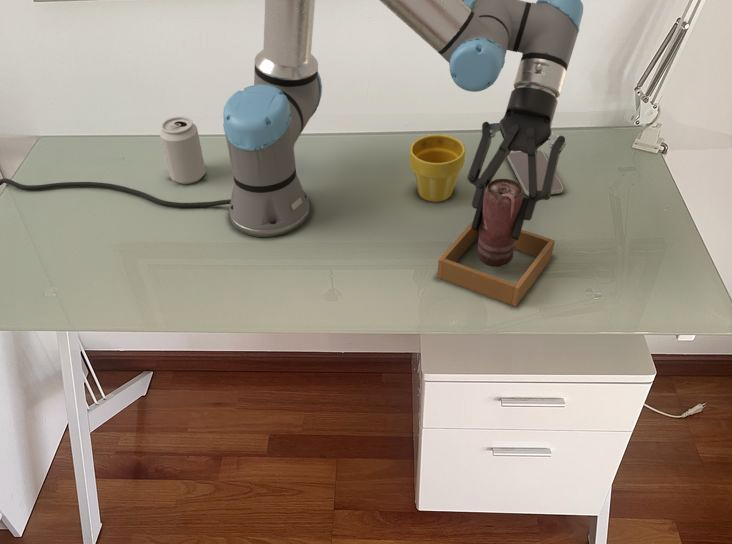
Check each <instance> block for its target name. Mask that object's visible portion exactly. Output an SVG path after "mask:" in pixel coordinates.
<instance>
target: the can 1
mask: <svg viewBox="0 0 732 544" xmlns="http://www.w3.org/2000/svg"><path fill="white" fill-rule="evenodd" d="M160 127H161V129H160V131H159V139H160V143H161V146H162V150H163V154H164V158H165V162H166V163H165V164H166V167H167V172H168V175H169V178H170V179H171V180H172V181H174V182H176V183H178V184H181V185H191V184H193V183H196V182H198V181H200V180H201V179H202V178H203V176H204V175H205V174H206V172H207V169H206V165H205V159H204V155H203V150H202V145H201V140H200V135H199V130H198V126H197V125H196V124H195V123H194V122H193V120H192V118H190V117H187V116H173V117H170V118H168V119H166V120H164V121H163V122H162V123H161V125H160Z"/></svg>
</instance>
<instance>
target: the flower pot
mask: <svg viewBox="0 0 732 544" xmlns="http://www.w3.org/2000/svg"><path fill="white" fill-rule="evenodd" d="M465 159H466V147H465V144H464V143H463V142H462V141H461V140H460V139H458V138H456V137H454V136H452V135H447V134H437V133H436V134H428V135H424V136H422V137H419V138H417V139H416V140H414V141H413V142H412V144H411V145H410V148H409V166H410V169H411V170H412V171H413V175H414V179H415V184H416V188H417V193H418V195H419V196H420V197H421V198H422V199H423V200H426V201H429V202H433V203H435V202H443V201H445V200H447V199H449V198H450V197H451V196H452V194H453V192H454V189H455V185H456V182H457V179H458V176H459V173H460V172H461V171H462V170H463V168H464V165H465V161H466V160H465Z"/></svg>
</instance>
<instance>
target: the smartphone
mask: <svg viewBox="0 0 732 544" xmlns="http://www.w3.org/2000/svg"><path fill="white" fill-rule="evenodd" d="M548 160H549V159H548V158H547V156H546V155H545V152H544V151H543V150H540V149H537V182H538V191H542V187H543V183H544V178H545V174H546V169H547V165H548ZM507 161H508V162H509V163H508V164H509V165H510V167H511V169H512V170H513V173H514V174H515V177H516V178H517V181H518V183H519V184H520V186H521V187H522V191H523V193H524V194H525V195H526V196H528V197H529V179H528V154H526V153H523V152H521V151H511V152H510V153H509V155H508V156H507ZM563 191H564V186H563V184H562V182H561V180H560V178H559V177H558V176H557V174H556V172H555V177H554V181H553V186H552V190H551V195H556V194H561V193H562V192H563Z"/></svg>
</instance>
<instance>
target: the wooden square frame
mask: <svg viewBox="0 0 732 544" xmlns="http://www.w3.org/2000/svg"><path fill="white" fill-rule="evenodd" d="M472 223H473V220H472V221H471V222H470V223H469V224H468V225H467V227H465V229H464V230H463V231H462V232H461V233H460V235H459V236H458V237H457V238H456V239H455V240H454V241H453V243H452V244H451V245H449V246H448V248H447V249H446V250H445V252H444V253H443V254H441V256H440V257H439V258H438V263H437V278H438V279H441V280H443V281H445V282H448V283H452V284H454V285H457V286H459V287H462V288H465V289H468V290H470V291H473V292H474V293H475V292H476V293H478V294H481V295H484V296H486V297H489V298H491V299H494V300H496V301H499V302H501V303H504V304H507V305H510V306H513V307H514V308H515V307H517V306H518V304H519V303H520V302H521V300H522V299H523V297H525V295H526V294H527V292H528V291H529V289H530V288H531V287H532V286H533V284H534V283H535V282H536V280H537V279H538V277H540V274H541V273H542V272H543V270H545V268H546V267H547V265H548V264H549V263H550V261H551V260H552V259H553V258H552V257H553V254H554V253H553V251H554V247H555V243H556V240H555V239H552V238H549V237H547V236H542V235H540V234H537V233H533V232H530V231H528V230H524V229H523V228H522V229H521V233H520V236H519V240H516V242H515V248H514V250H517V251H519V252H523V253H525V254H529V255H530V256H531V255H532V256H534V257H536V258H535V259H534V260H533V261H532V263H531V264H530V265H529V266H528V268H527V269H526V271H525V272H524V273H523V274H522V276H521V277H520V279H519V280H518V281H517V283H514V282H511V281H508V280H506V279H502V278H500V277H497V276H494V275H492V274H489V273H486V272H484V271H481V270H478V269H475V268H473V267H471V266H467V265H464V264H461V263H459V262H458V260H459V259H460V258H461V257H462V256H463V254H464V253H465V252H466V251H467V250H468V249H469V247H471V245H472V244H473V243H474V242H475V241H476V240H477V239H478V238H479V231H480V227H479V230H478V231H476V230H474V229H473V228H472Z"/></svg>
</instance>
